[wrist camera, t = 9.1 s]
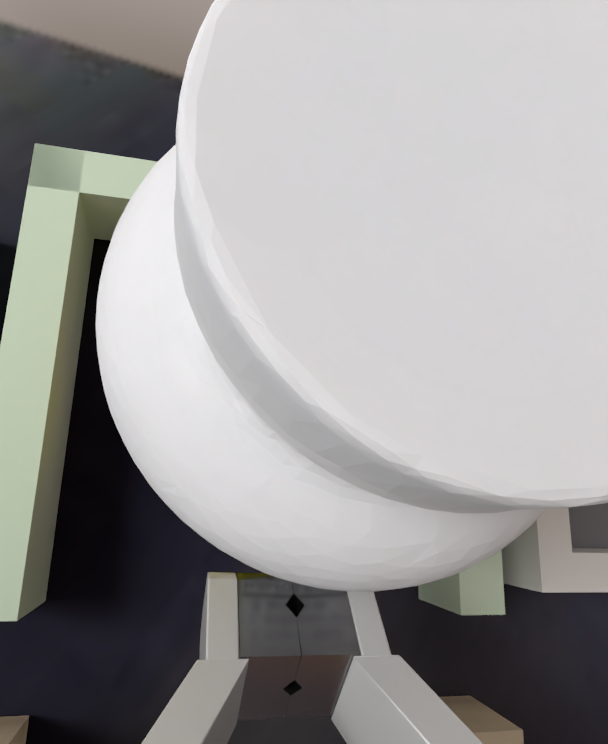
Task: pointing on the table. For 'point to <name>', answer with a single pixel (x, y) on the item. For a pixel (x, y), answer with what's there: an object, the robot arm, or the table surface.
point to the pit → (561, 552)
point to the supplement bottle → (371, 285)
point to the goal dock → (59, 364)
